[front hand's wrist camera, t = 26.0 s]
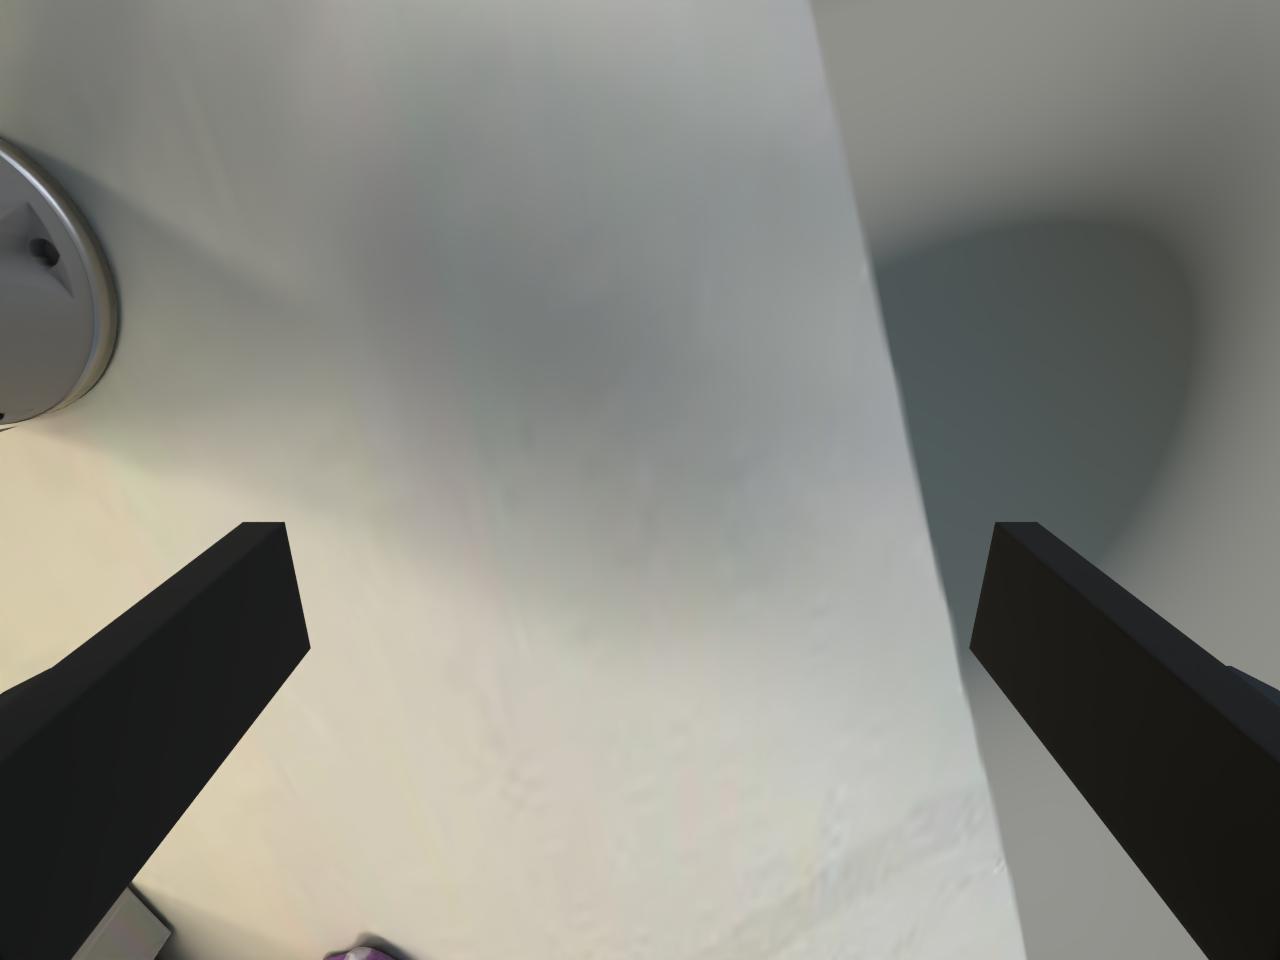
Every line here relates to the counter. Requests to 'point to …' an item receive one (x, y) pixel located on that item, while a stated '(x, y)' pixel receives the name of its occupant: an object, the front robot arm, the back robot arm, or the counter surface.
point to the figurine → (361, 955)
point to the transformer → (125, 933)
